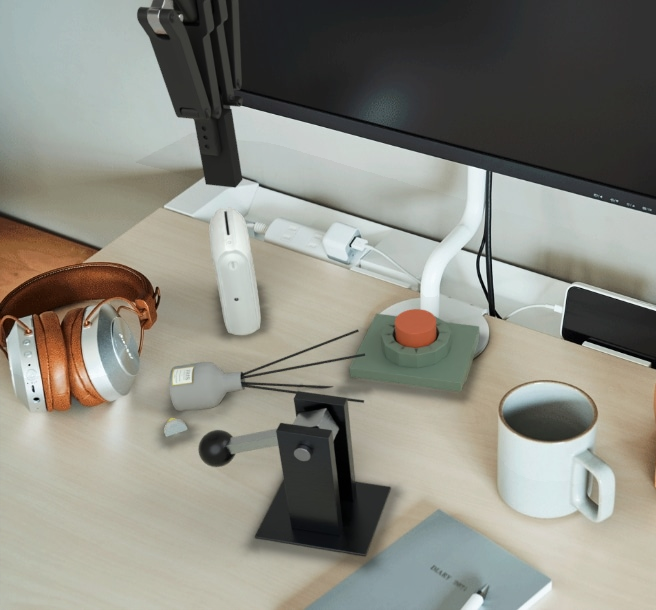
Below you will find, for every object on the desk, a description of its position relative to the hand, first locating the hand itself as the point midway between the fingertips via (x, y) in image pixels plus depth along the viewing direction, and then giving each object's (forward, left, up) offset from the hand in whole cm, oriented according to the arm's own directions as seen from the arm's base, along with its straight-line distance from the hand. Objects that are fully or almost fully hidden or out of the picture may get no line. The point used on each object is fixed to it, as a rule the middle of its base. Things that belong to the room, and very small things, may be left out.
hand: (224, 181), depth 79 cm
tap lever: (+7, -12, -19) cm, 24 cm away
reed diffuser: (+1, +1, -27) cm, 27 cm away
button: (+14, +11, -23) cm, 29 cm away
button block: (+14, +11, -26) cm, 32 cm away
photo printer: (-9, +16, -27) cm, 32 cm away
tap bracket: (+11, -12, -26) cm, 31 cm away
